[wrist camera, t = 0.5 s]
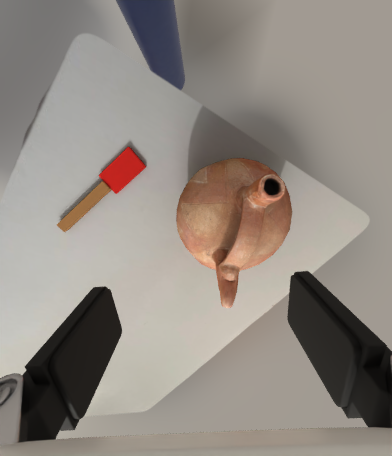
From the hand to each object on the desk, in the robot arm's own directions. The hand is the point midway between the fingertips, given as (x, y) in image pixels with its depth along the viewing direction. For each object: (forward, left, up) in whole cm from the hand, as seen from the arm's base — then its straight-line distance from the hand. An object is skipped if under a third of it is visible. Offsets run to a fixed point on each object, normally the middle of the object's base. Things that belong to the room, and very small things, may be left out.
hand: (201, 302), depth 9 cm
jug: (+5, +3, -29) cm, 29 cm away
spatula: (-13, -15, -29) cm, 35 cm away
